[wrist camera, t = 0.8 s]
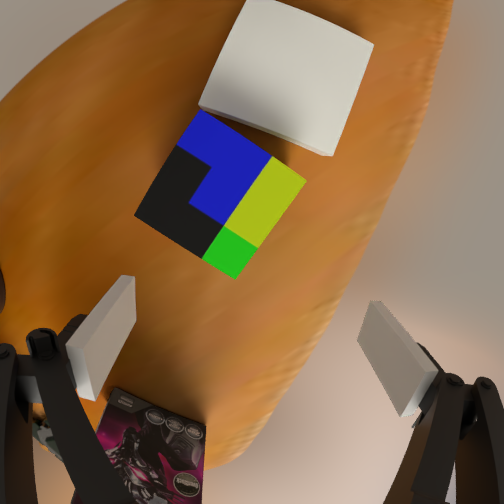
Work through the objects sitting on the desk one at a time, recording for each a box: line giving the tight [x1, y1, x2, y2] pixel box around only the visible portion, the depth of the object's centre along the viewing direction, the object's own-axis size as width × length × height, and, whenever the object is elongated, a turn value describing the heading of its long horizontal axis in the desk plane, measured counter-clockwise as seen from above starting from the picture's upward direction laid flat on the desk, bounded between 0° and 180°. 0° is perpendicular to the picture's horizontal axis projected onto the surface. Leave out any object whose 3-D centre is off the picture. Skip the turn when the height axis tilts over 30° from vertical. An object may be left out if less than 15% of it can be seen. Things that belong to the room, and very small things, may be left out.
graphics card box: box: [71, 387, 206, 504], centre depth 31 cm, size 17×7×27 cm, turn 59°
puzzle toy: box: [134, 109, 306, 279], centre depth 28 cm, size 10×10×10 cm
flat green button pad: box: [32, 417, 64, 463], centre depth 46 cm, size 18×18×5 cm
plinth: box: [198, 0, 374, 156], centre depth 27 cm, size 14×14×4 cm
